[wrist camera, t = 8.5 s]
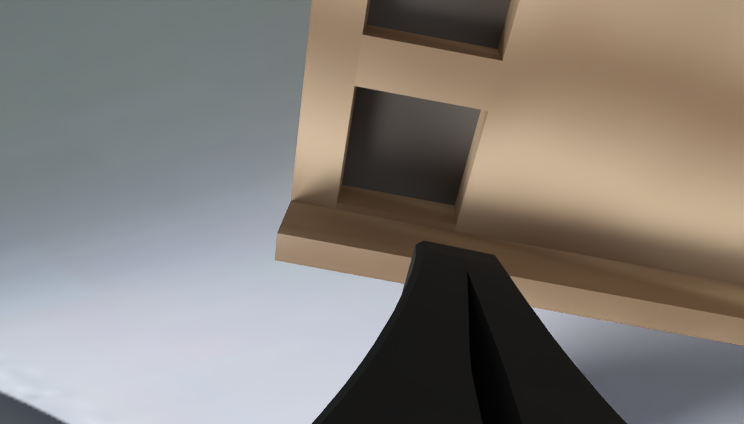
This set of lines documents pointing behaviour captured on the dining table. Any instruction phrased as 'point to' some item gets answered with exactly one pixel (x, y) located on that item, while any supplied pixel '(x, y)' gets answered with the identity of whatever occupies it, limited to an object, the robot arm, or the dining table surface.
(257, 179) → the dining table surface
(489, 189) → the tray
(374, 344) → the robot arm
